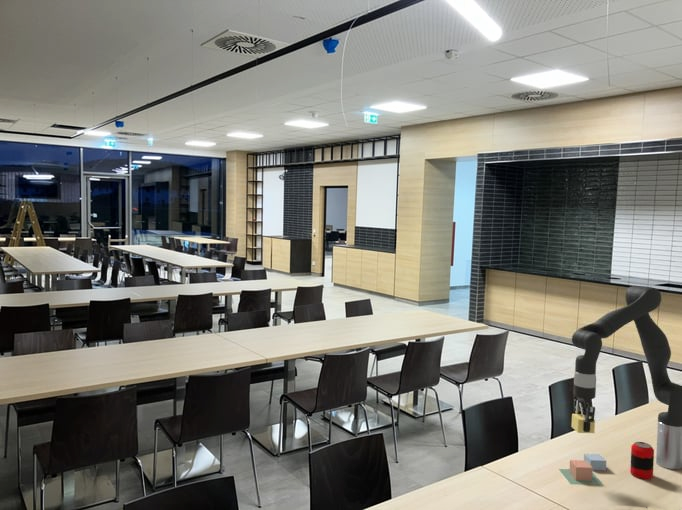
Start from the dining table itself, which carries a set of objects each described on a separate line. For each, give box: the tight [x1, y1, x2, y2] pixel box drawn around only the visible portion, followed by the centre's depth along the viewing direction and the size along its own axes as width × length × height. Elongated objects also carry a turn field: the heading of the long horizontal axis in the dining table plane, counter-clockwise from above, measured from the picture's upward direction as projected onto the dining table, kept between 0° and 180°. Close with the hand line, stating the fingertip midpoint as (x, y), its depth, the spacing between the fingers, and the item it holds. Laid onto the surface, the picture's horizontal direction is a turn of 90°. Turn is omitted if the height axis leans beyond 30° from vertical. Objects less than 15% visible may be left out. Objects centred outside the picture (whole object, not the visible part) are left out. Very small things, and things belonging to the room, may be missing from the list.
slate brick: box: [583, 453, 607, 471], centre depth 208 cm, size 6×6×5 cm
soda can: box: [629, 441, 655, 480], centre depth 203 cm, size 8×8×12 cm
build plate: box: [558, 468, 605, 486], centre depth 199 cm, size 12×12×1 cm
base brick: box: [569, 459, 594, 481], centre depth 199 cm, size 6×6×5 cm
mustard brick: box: [570, 413, 596, 434], centre depth 198 cm, size 6×6×5 cm
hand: (582, 427), depth 198 cm, fingers closed on mustard brick, 6 cm apart
